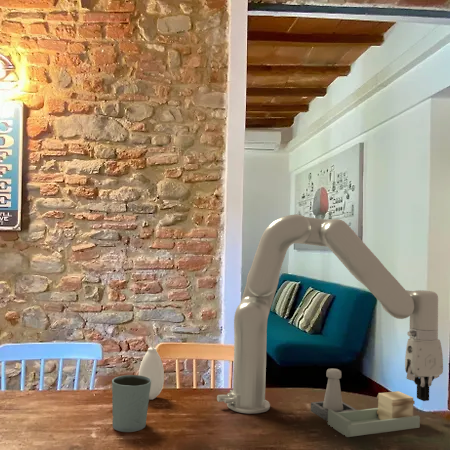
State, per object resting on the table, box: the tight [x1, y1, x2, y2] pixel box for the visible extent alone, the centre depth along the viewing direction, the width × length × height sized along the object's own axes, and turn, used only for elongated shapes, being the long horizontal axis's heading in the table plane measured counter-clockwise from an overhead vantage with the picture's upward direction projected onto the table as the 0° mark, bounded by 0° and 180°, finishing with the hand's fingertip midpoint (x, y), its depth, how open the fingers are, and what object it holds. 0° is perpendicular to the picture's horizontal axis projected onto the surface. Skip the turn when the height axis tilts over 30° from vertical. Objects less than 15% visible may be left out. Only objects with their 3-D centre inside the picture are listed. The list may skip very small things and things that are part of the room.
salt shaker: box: [323, 368, 343, 411], centre depth 150 cm, size 6×6×13 cm
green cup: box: [111, 374, 151, 433], centre depth 137 cm, size 10×10×12 cm
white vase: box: [137, 339, 165, 401], centre depth 159 cm, size 8×8×18 cm
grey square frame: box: [310, 400, 358, 422], centre depth 150 cm, size 10×10×2 cm
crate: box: [376, 390, 416, 420], centre depth 144 cm, size 7×7×7 cm
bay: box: [327, 407, 421, 438], centre depth 142 cm, size 23×9×4 cm, turn 111°
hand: (422, 399), depth 148 cm, fingers closed
